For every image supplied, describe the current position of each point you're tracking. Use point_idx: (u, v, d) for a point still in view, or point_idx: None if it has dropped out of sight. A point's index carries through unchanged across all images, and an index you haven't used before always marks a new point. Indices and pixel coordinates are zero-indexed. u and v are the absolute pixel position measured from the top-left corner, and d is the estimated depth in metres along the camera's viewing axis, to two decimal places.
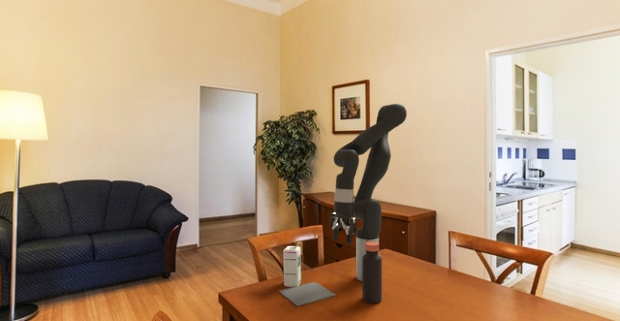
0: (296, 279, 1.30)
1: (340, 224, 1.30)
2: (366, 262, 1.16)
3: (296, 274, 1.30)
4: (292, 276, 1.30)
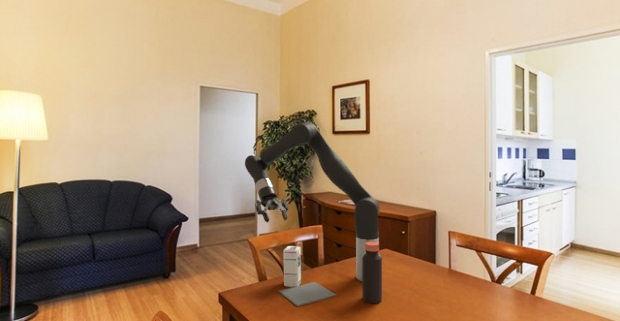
0: (296, 279, 1.30)
1: None
2: (366, 262, 1.16)
3: (296, 274, 1.30)
4: (292, 276, 1.30)
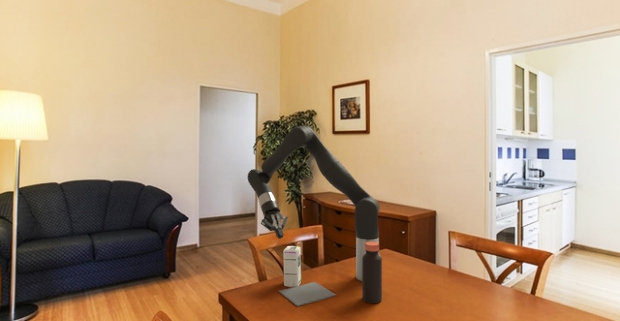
0: (296, 279, 1.30)
1: None
2: (366, 262, 1.16)
3: (296, 274, 1.30)
4: (292, 276, 1.30)
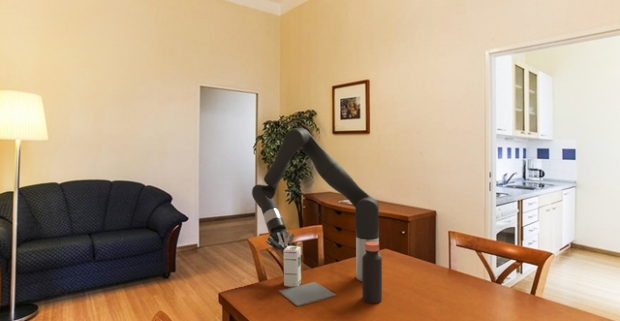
0: (296, 279, 1.30)
1: None
2: (366, 262, 1.16)
3: (296, 274, 1.30)
4: (292, 276, 1.30)
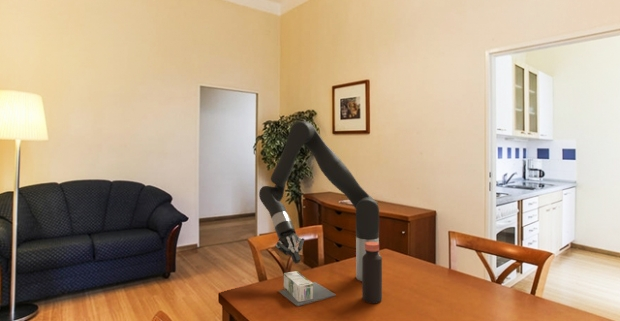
0: None
1: None
2: (366, 262, 1.16)
3: None
4: None
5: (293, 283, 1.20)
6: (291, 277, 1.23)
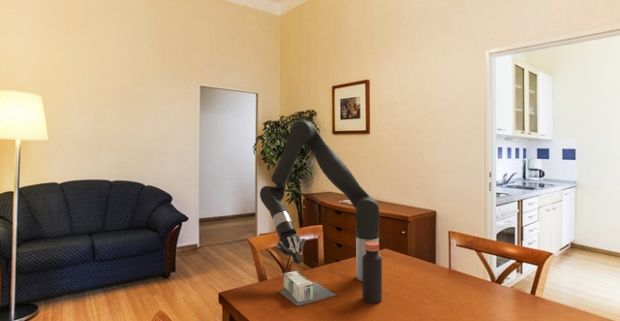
0: None
1: None
2: (366, 262, 1.16)
3: None
4: None
5: (293, 283, 1.20)
6: (291, 277, 1.23)
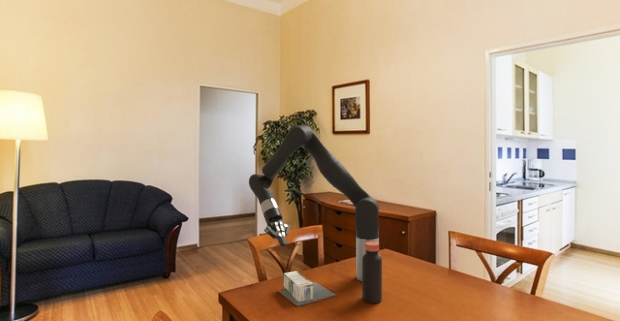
0: None
1: None
2: (366, 262, 1.16)
3: None
4: None
5: (293, 283, 1.20)
6: (291, 277, 1.23)
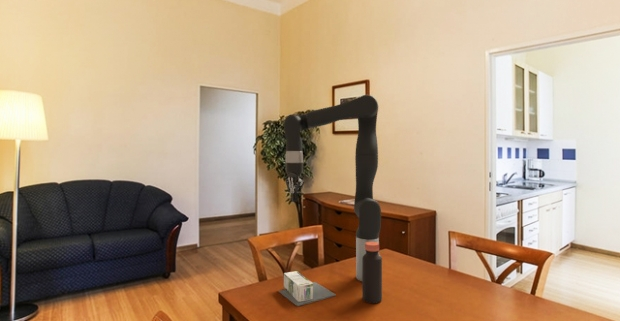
0: None
1: None
2: (366, 262, 1.16)
3: None
4: None
5: (293, 283, 1.20)
6: (291, 277, 1.23)
